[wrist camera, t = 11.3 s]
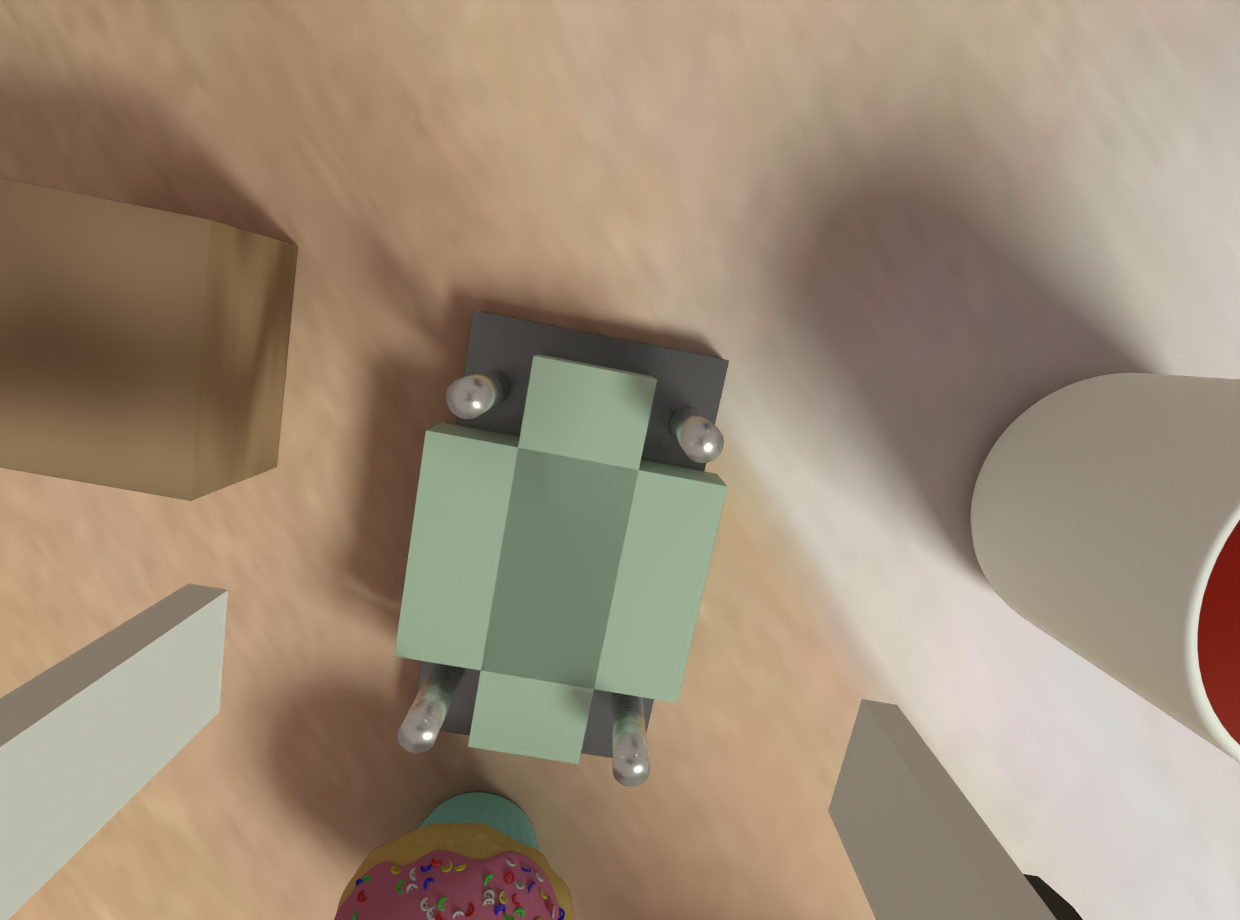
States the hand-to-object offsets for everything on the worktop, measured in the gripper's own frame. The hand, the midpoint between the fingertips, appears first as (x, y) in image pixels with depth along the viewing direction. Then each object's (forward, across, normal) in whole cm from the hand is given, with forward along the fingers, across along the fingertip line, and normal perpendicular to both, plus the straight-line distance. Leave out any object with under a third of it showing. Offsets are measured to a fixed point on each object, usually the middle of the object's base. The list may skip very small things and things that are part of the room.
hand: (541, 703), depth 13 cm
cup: (+12, +19, +5) cm, 23 cm away
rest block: (+12, -14, +4) cm, 19 cm away
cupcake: (+11, -2, -14) cm, 18 cm away
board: (+10, 0, -1) cm, 11 cm away
